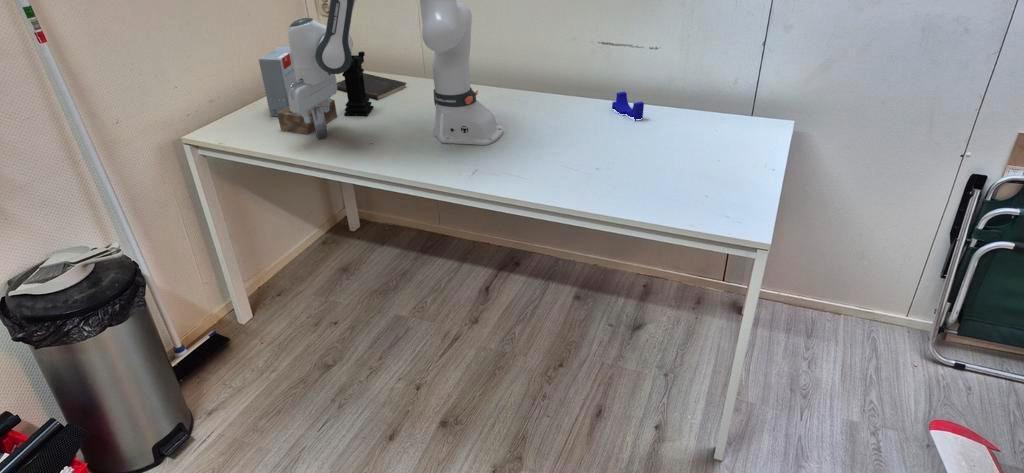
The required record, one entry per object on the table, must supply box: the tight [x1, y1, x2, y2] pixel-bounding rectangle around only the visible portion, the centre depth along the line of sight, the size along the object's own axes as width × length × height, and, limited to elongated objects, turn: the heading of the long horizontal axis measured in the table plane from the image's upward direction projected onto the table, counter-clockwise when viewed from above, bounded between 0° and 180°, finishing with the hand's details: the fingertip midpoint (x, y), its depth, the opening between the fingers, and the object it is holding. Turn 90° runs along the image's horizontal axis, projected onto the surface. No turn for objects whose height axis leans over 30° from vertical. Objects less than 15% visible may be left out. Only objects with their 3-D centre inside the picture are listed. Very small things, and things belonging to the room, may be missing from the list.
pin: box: [311, 105, 329, 140], centre depth 207 cm, size 4×4×10 cm
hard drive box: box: [258, 45, 296, 117], centre depth 225 cm, size 16×8×20 cm, turn 171°
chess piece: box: [341, 51, 375, 118], centre depth 221 cm, size 8×8×20 cm
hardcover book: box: [337, 72, 407, 101], centre depth 246 cm, size 16×23×2 cm
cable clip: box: [611, 91, 645, 120], centre depth 219 cm, size 12×4×6 cm, turn 24°
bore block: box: [277, 98, 338, 135], centre depth 217 cm, size 11×16×6 cm
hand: (317, 116), depth 206 cm, fingers open, 8 cm apart
